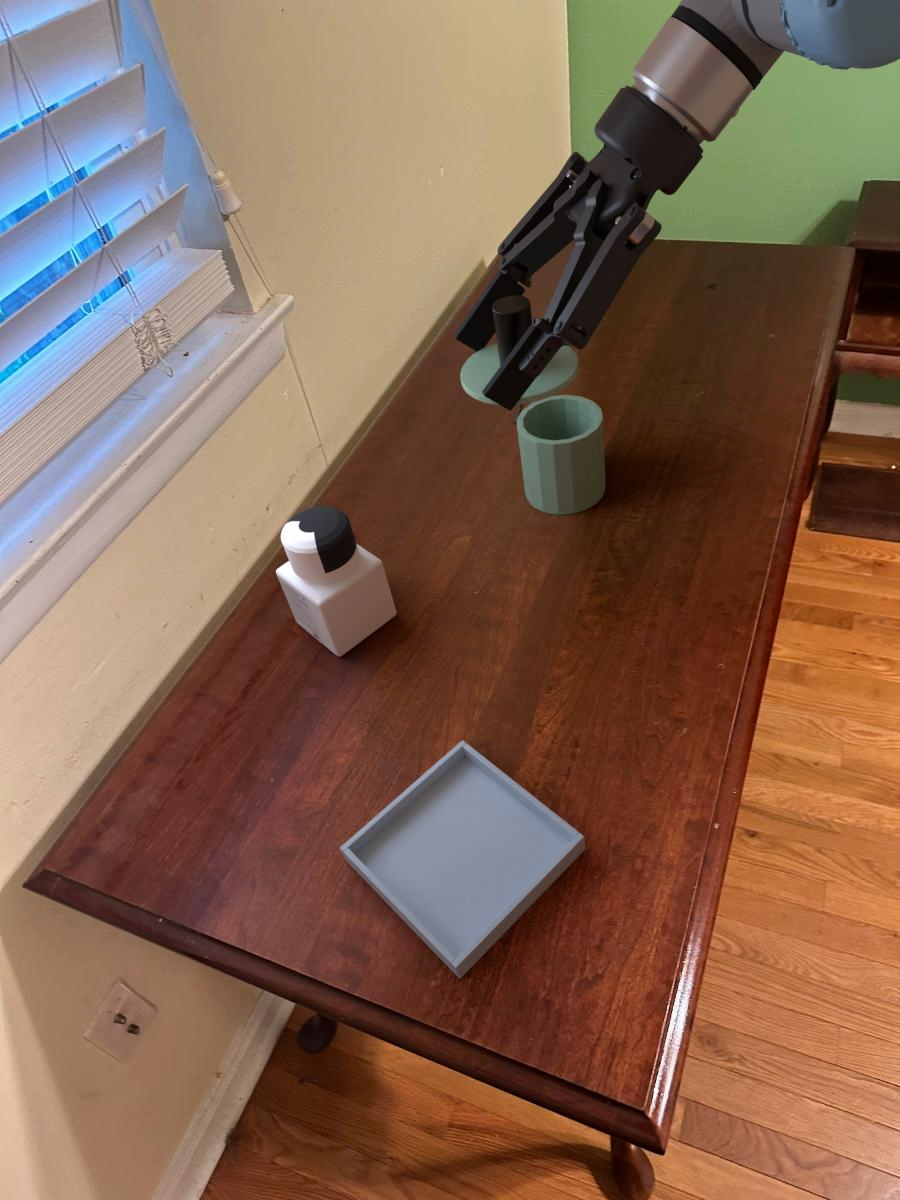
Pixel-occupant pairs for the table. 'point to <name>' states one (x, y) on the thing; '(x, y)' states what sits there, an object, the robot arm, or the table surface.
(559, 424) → the faceted green cup
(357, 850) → the tray
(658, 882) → the table surface
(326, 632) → the container
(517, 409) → the rod
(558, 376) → the lid
